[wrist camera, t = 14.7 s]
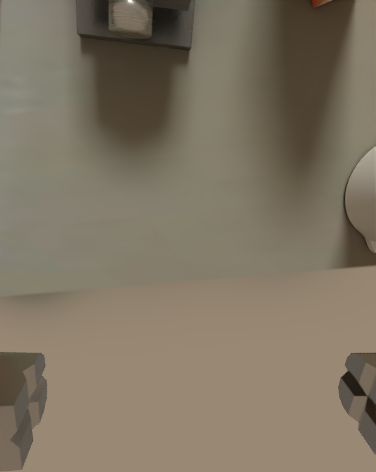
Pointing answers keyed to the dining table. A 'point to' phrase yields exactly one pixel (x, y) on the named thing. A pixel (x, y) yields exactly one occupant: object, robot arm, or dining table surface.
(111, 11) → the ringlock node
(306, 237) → the dining table surface
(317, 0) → the cracker box
